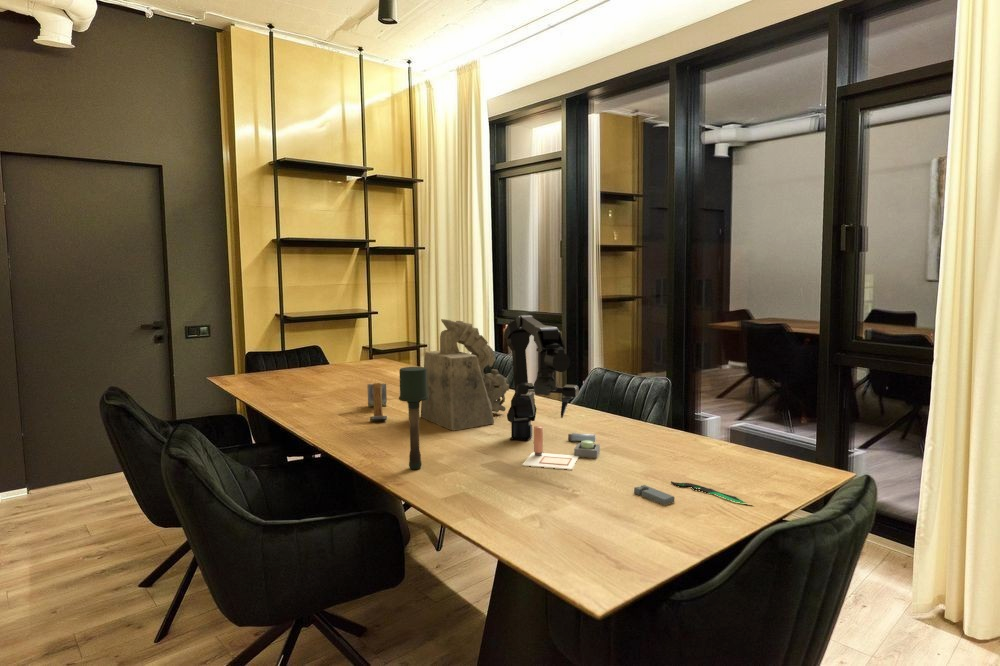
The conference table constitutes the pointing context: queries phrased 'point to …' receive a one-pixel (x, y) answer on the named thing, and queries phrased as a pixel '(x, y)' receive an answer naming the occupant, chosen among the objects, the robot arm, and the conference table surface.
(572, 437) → the grey cylinder
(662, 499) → the bracket
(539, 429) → the salmon rounded cylinder
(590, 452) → the button housing
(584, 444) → the button
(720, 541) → the conference table surface
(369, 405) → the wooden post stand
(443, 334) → the sculpture
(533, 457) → the sheet
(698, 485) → the knife
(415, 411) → the stick grenade
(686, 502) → the conference table surface
